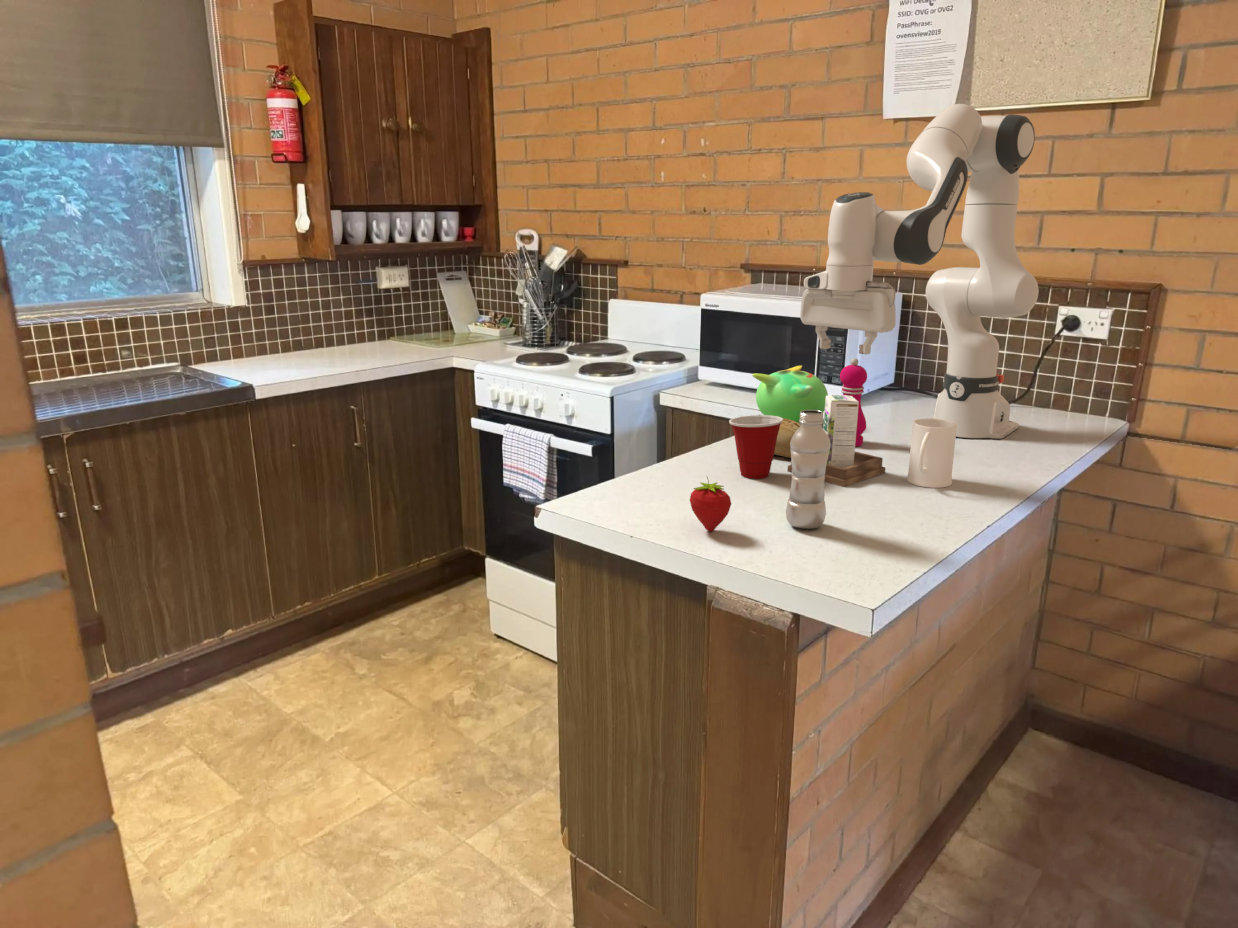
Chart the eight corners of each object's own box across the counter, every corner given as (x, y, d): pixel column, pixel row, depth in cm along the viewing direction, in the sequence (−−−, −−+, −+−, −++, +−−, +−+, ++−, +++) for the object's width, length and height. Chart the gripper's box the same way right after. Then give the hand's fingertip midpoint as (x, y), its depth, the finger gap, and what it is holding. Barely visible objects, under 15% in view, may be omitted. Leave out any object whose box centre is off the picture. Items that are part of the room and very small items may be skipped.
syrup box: (819, 462, 175) (823, 394, 171) (848, 462, 175) (852, 394, 171) (825, 470, 169) (829, 400, 165) (854, 470, 169) (859, 400, 165)
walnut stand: (829, 458, 182) (830, 444, 181) (884, 472, 171) (886, 458, 170) (787, 471, 173) (788, 456, 172) (843, 486, 163) (844, 471, 162)
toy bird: (834, 421, 215) (838, 365, 210) (811, 436, 201) (815, 376, 197) (769, 414, 224) (771, 359, 220) (743, 427, 210) (745, 369, 206)
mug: (936, 495, 157) (942, 433, 154) (892, 486, 163) (897, 426, 159) (958, 480, 166) (964, 422, 162) (916, 472, 171) (921, 415, 168)
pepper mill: (866, 448, 190) (872, 361, 184) (833, 446, 191) (839, 360, 185) (863, 440, 196) (869, 356, 191) (832, 439, 198) (837, 355, 192)
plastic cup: (748, 464, 179) (750, 409, 175) (791, 474, 171) (793, 417, 168) (716, 475, 171) (717, 418, 168) (759, 486, 164) (761, 427, 160)
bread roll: (756, 445, 194) (757, 411, 192) (818, 454, 186) (820, 419, 183) (738, 454, 186) (739, 420, 184) (801, 464, 178) (803, 428, 176)
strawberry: (715, 541, 136) (717, 483, 133) (681, 530, 141) (681, 474, 138) (738, 532, 140) (740, 475, 137) (703, 521, 145) (704, 466, 142)
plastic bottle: (780, 520, 145) (785, 408, 139) (818, 519, 145) (825, 407, 140) (791, 534, 139) (796, 417, 133) (830, 532, 139) (838, 416, 134)
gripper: (905, 282, 156) (899, 355, 160) (817, 277, 171) (813, 344, 175) (886, 284, 152) (880, 359, 156) (797, 278, 167) (794, 347, 171)
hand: (844, 351), depth 166 cm, fingers open, 8 cm apart
